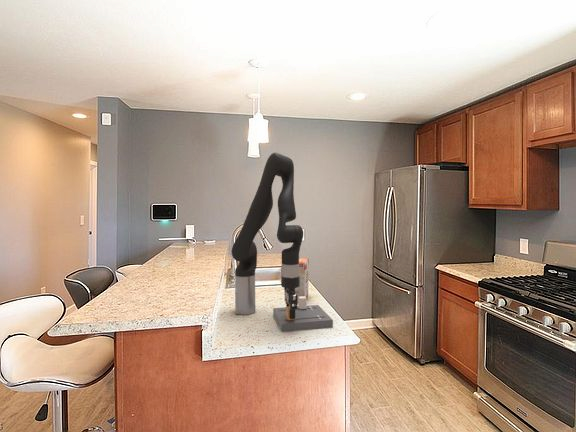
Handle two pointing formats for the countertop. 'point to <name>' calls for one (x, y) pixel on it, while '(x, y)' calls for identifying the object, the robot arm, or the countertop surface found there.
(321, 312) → the mixer console
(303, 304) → the white fader
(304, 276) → the cracker box
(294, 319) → the block
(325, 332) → the countertop surface
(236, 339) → the countertop surface
